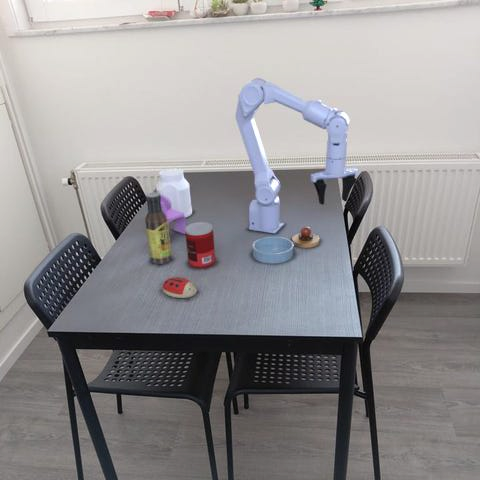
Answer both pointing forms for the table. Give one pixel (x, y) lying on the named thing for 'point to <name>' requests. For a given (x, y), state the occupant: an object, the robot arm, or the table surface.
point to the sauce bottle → (157, 230)
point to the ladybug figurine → (179, 288)
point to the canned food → (200, 245)
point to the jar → (175, 190)
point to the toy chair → (173, 214)
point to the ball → (305, 231)
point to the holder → (305, 240)
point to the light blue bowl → (273, 250)
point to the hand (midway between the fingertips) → (332, 201)
